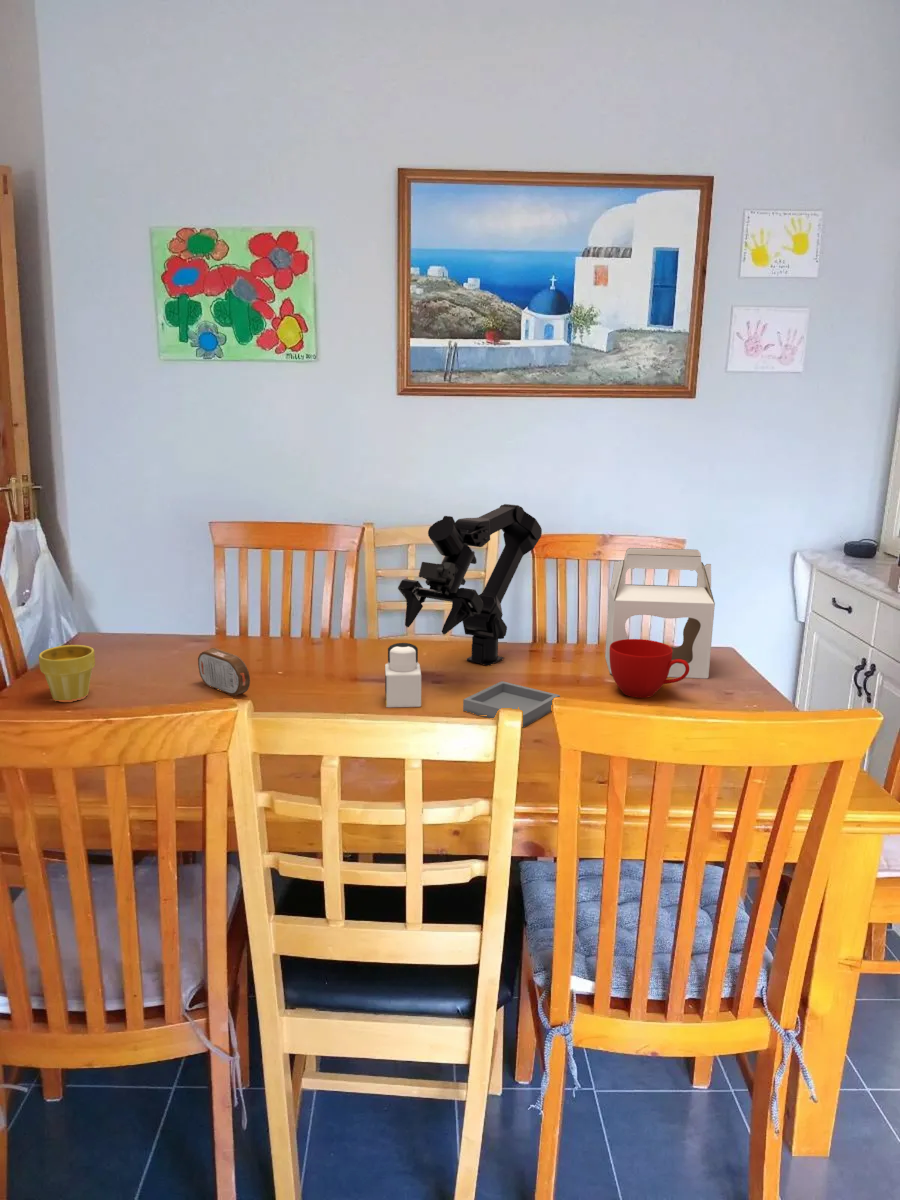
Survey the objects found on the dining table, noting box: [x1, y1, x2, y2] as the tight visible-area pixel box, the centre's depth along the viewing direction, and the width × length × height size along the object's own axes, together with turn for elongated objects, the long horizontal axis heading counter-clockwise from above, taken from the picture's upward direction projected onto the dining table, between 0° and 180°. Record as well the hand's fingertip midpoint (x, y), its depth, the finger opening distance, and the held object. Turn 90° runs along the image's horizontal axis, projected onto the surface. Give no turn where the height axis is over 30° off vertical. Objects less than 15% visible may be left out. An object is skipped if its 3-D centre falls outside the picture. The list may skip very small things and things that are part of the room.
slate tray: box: [462, 680, 561, 728], centre depth 177 cm, size 14×14×2 cm
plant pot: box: [38, 644, 96, 700], centre depth 180 cm, size 10×10×10 cm
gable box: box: [605, 547, 716, 680], centre depth 201 cm, size 22×13×28 cm, turn 85°
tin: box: [197, 647, 251, 697], centre depth 185 cm, size 15×3×8 cm, turn 50°
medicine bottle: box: [384, 642, 422, 708], centre depth 179 cm, size 7×7×12 cm
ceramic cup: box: [609, 638, 689, 699], centre depth 185 cm, size 13×17×10 cm
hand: (424, 629), depth 184 cm, fingers open, 9 cm apart
